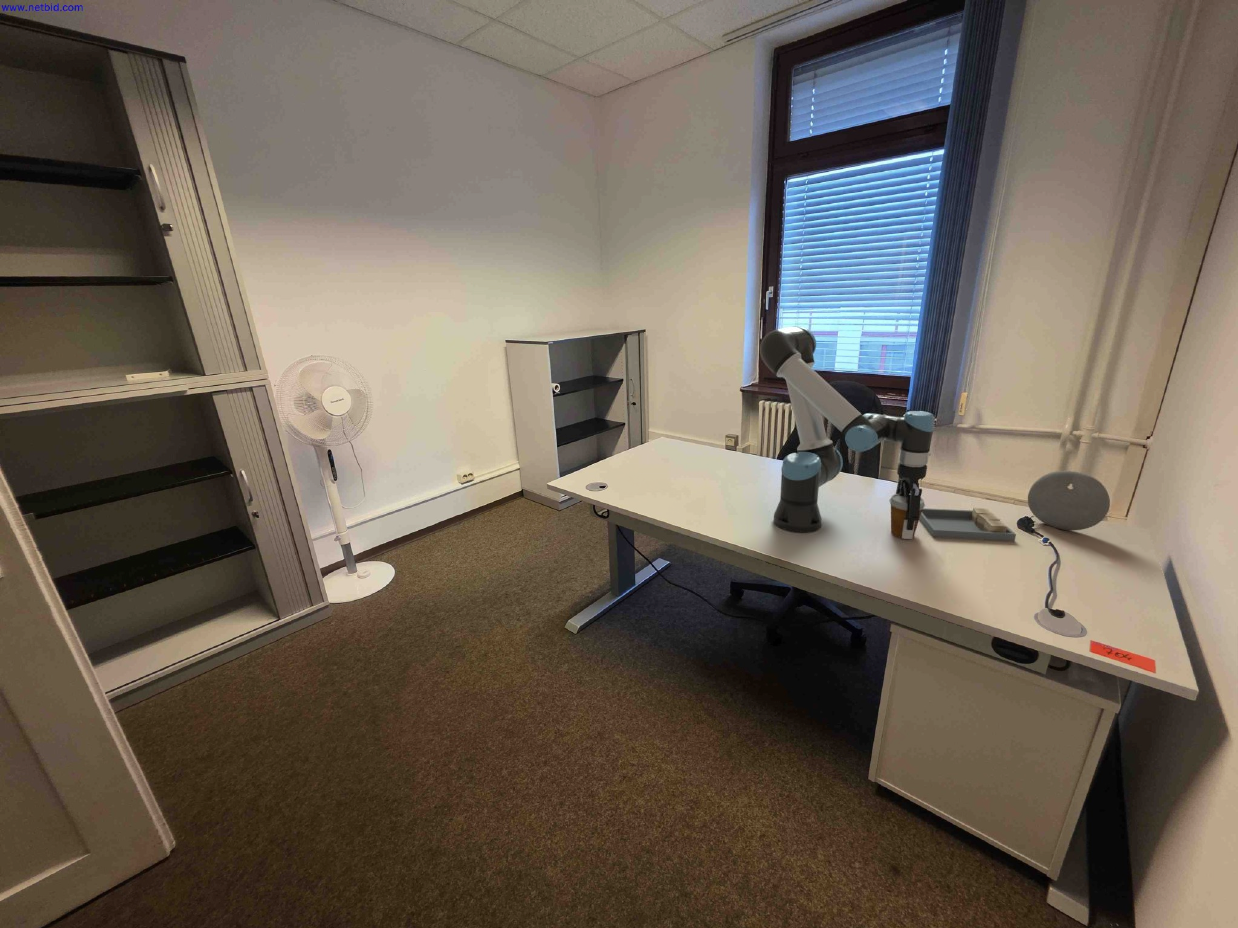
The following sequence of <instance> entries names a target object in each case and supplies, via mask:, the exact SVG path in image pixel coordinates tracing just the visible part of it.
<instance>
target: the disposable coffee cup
mask: <svg viewBox="0 0 1238 928" xmlns="http://www.w3.org/2000/svg"><path fill="white" fill-rule="evenodd" d="M909 495H910V494H909ZM889 504H890V533H891V534H892V536H895V537H897V538H902V532H903V526H904V519H903V518H906V510H907V503H906V497H905V496H900V494H896V493H895V494H893V495H891V497H890V499H889ZM925 507H926V504H925V500H924V499H923V498H922V497H921V500H920V511H919V519H920V516H921V512H922V509H923V508H925ZM919 522H920V521H915V525H914V531H913V538H914V537H915V534H916V531H917V527H918V524H919ZM902 539H903V538H902Z"/></svg>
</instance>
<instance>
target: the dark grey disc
mask: <svg viewBox="0 0 1238 928" xmlns="http://www.w3.org/2000/svg"><path fill="white" fill-rule="evenodd" d="M1070 485H1071V486H1072V488H1069V486H1070ZM1110 499H1111V498H1110V496H1109V493H1108V490H1107V488H1106V487H1105V486H1104V485H1103V483H1102V482H1100V480H1098V479H1097V478H1095V477H1093V476H1091V475H1089V474H1086V473H1082V472H1078V471H1071V470H1058V471H1057V470H1056V471H1052V472H1048V473H1046V474H1044V475H1043V476H1041V477H1039V478H1038V479H1037V480H1036V481H1034V483H1033V484H1032V485H1031V487H1030V489H1029V491H1028V493H1027V504H1028V508H1029V510H1030V512H1031V514H1033V516H1035V518H1037V519H1038V520H1039V521H1040V522H1042V523H1043V524H1045V525H1047V526H1049V527H1052V528H1055V529H1059V530H1061V531H1062V530H1063V531H1081V530H1086V529H1089V528H1092V527H1095V526H1097V525H1098V524H1099V523H1101V522H1102V521H1103V520H1104V519H1105V518H1106V516H1107V515H1108V512H1109V511H1110V507H1111V505H1110V504H1111V500H1110Z"/></svg>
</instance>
